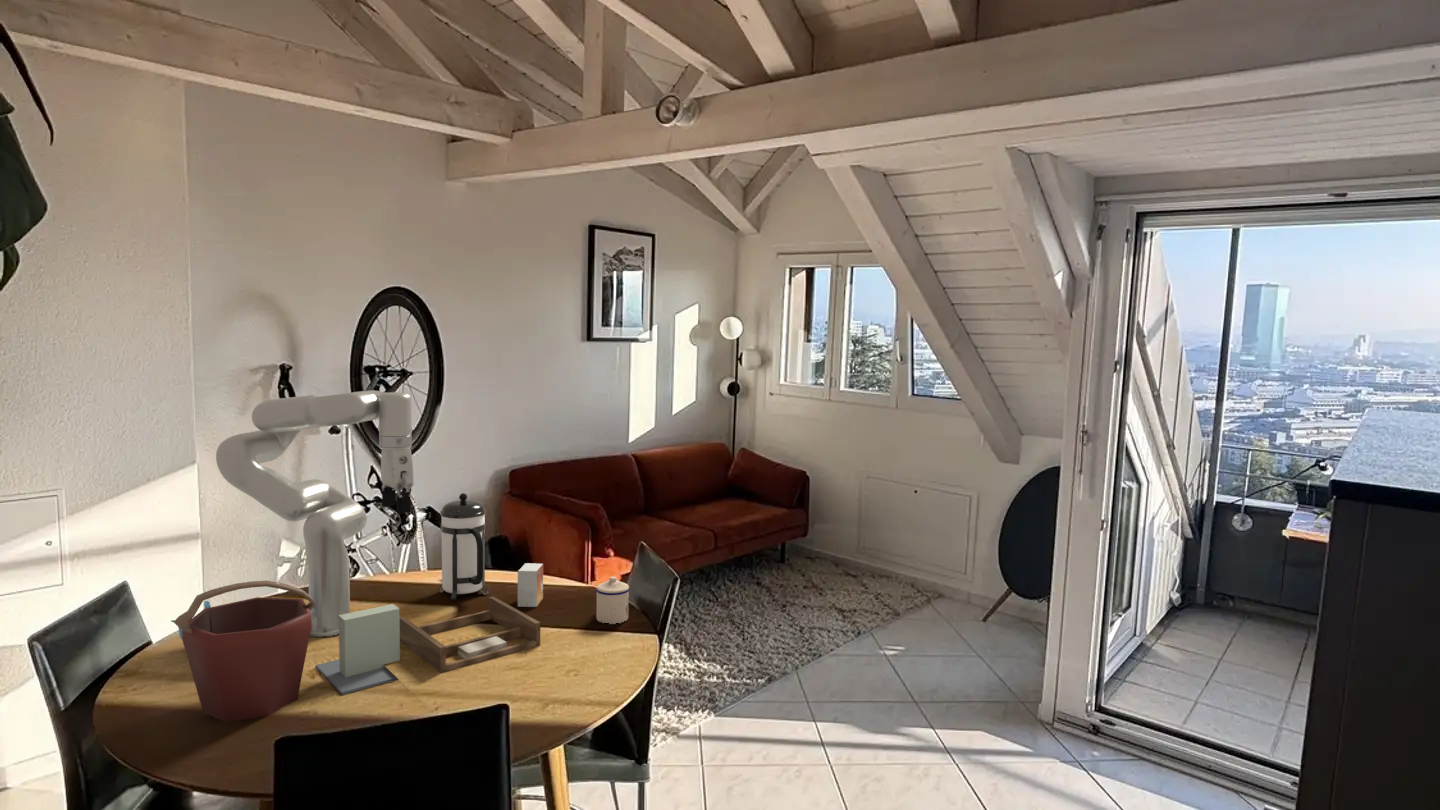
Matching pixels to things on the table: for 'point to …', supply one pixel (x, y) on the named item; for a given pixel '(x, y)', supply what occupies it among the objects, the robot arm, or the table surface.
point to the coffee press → (463, 547)
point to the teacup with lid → (612, 601)
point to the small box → (530, 585)
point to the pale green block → (368, 639)
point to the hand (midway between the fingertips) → (396, 509)
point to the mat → (354, 677)
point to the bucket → (247, 651)
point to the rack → (437, 652)
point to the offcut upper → (481, 647)
